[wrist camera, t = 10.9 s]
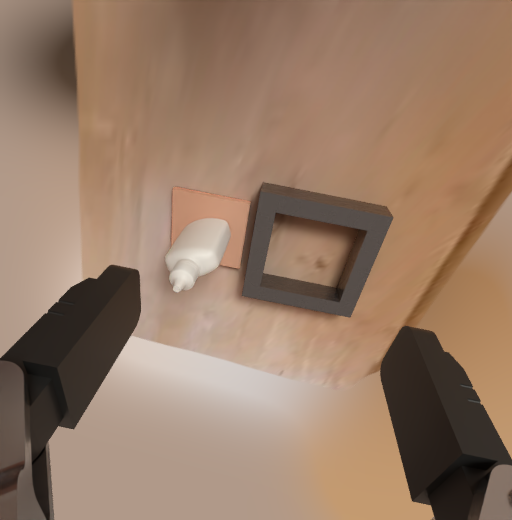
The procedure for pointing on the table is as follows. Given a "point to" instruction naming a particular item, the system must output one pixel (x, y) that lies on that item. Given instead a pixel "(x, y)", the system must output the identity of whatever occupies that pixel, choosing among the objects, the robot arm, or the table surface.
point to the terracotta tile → (212, 206)
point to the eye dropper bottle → (197, 251)
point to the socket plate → (325, 210)
